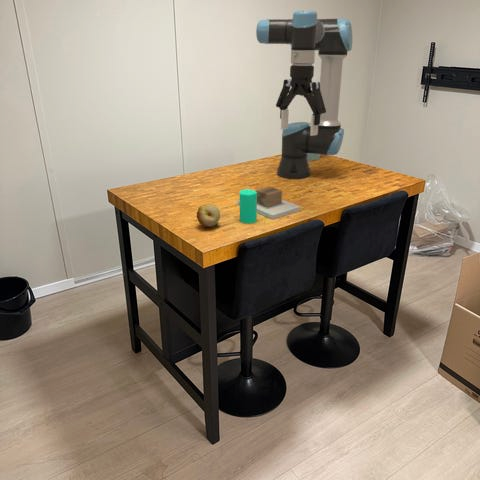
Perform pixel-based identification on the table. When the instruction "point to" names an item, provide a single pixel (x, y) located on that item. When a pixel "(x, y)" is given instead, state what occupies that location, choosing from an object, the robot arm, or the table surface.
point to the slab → (277, 209)
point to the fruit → (208, 215)
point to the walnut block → (269, 196)
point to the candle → (248, 206)
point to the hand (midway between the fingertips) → (298, 132)
